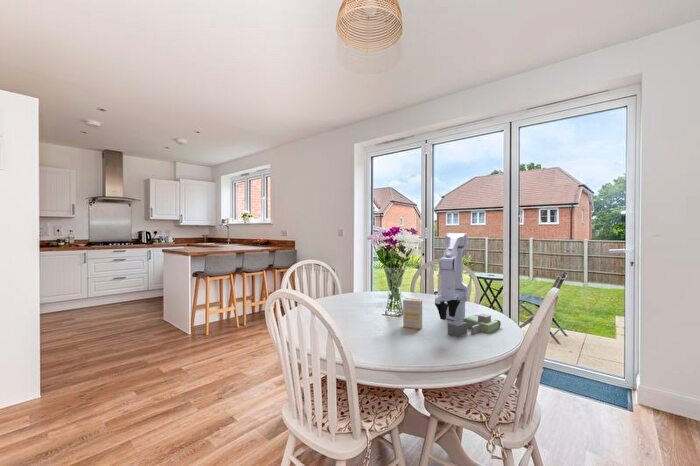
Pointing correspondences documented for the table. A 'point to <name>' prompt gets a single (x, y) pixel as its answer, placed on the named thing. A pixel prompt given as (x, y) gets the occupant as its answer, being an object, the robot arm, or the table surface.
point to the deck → (481, 323)
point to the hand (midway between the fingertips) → (447, 317)
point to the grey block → (457, 328)
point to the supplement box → (412, 313)
